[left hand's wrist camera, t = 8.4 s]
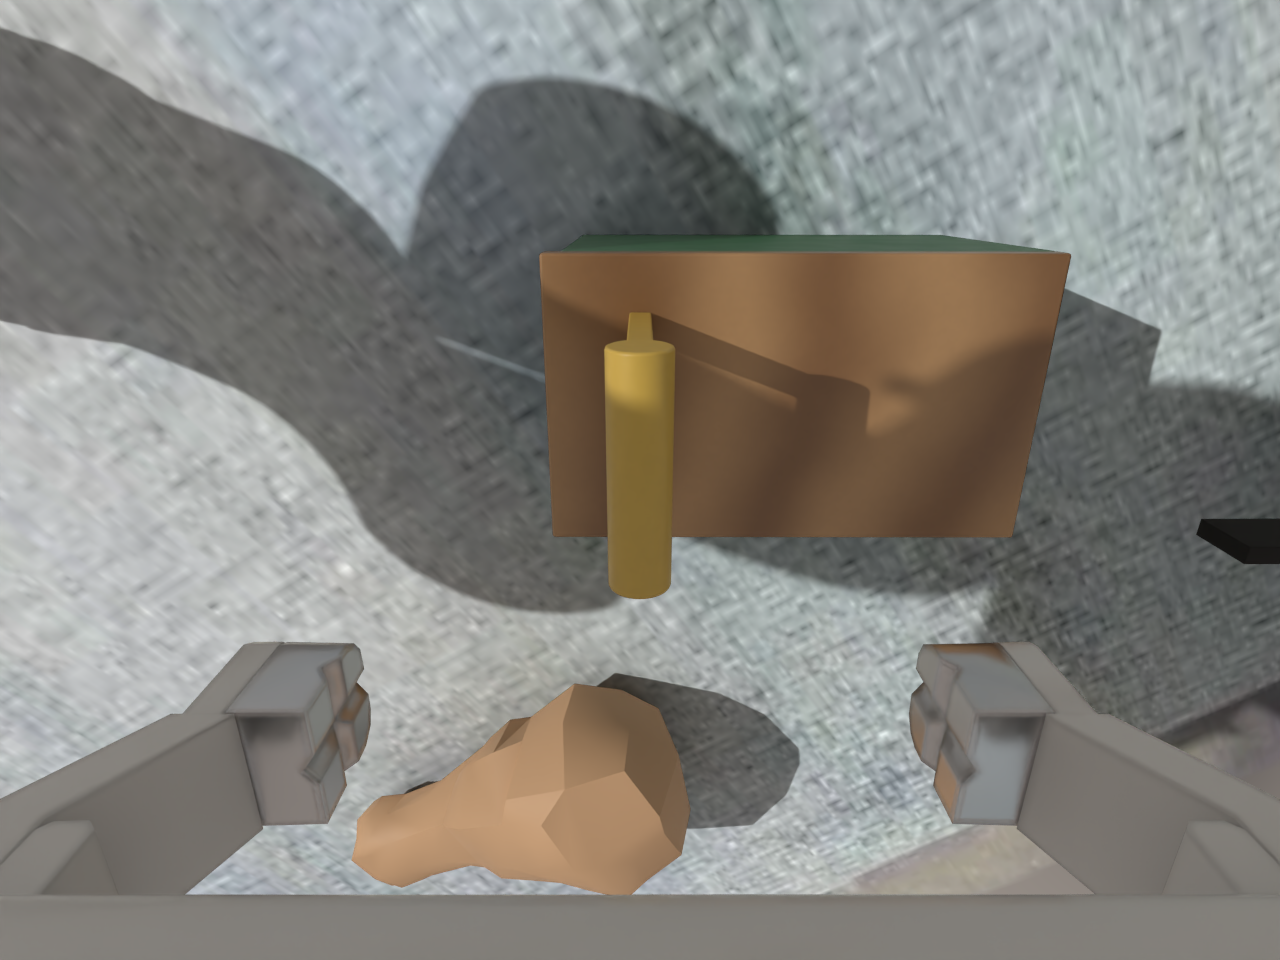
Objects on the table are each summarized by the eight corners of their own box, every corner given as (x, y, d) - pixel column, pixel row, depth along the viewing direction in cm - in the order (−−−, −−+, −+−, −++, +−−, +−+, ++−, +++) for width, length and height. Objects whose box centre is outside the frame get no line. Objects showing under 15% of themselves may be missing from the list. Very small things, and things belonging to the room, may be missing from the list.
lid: (555, 527, 27) (522, 653, 20) (542, 250, 23) (495, 277, 16) (1001, 528, 27) (1138, 654, 20) (1057, 251, 23) (1251, 278, 16)
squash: (722, 752, 43) (734, 910, 36) (452, 831, 49) (413, 982, 41) (635, 636, 38) (627, 794, 30) (345, 740, 44) (278, 894, 36)
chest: (588, 443, 36) (570, 526, 27) (582, 234, 32) (559, 250, 23) (911, 443, 36) (1001, 527, 27) (941, 234, 32) (1057, 251, 23)
